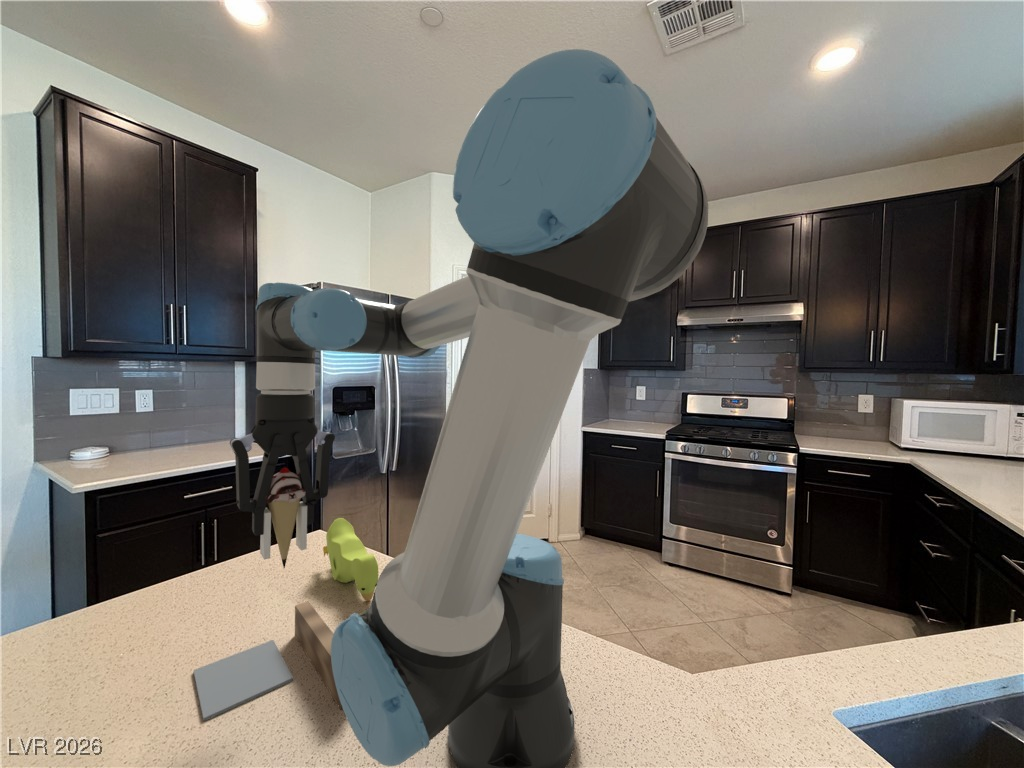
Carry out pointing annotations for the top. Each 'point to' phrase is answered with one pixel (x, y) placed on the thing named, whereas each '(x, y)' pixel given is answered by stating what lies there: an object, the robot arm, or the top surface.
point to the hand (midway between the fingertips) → (283, 550)
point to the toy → (351, 558)
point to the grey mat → (240, 678)
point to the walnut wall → (316, 644)
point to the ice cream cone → (284, 507)
